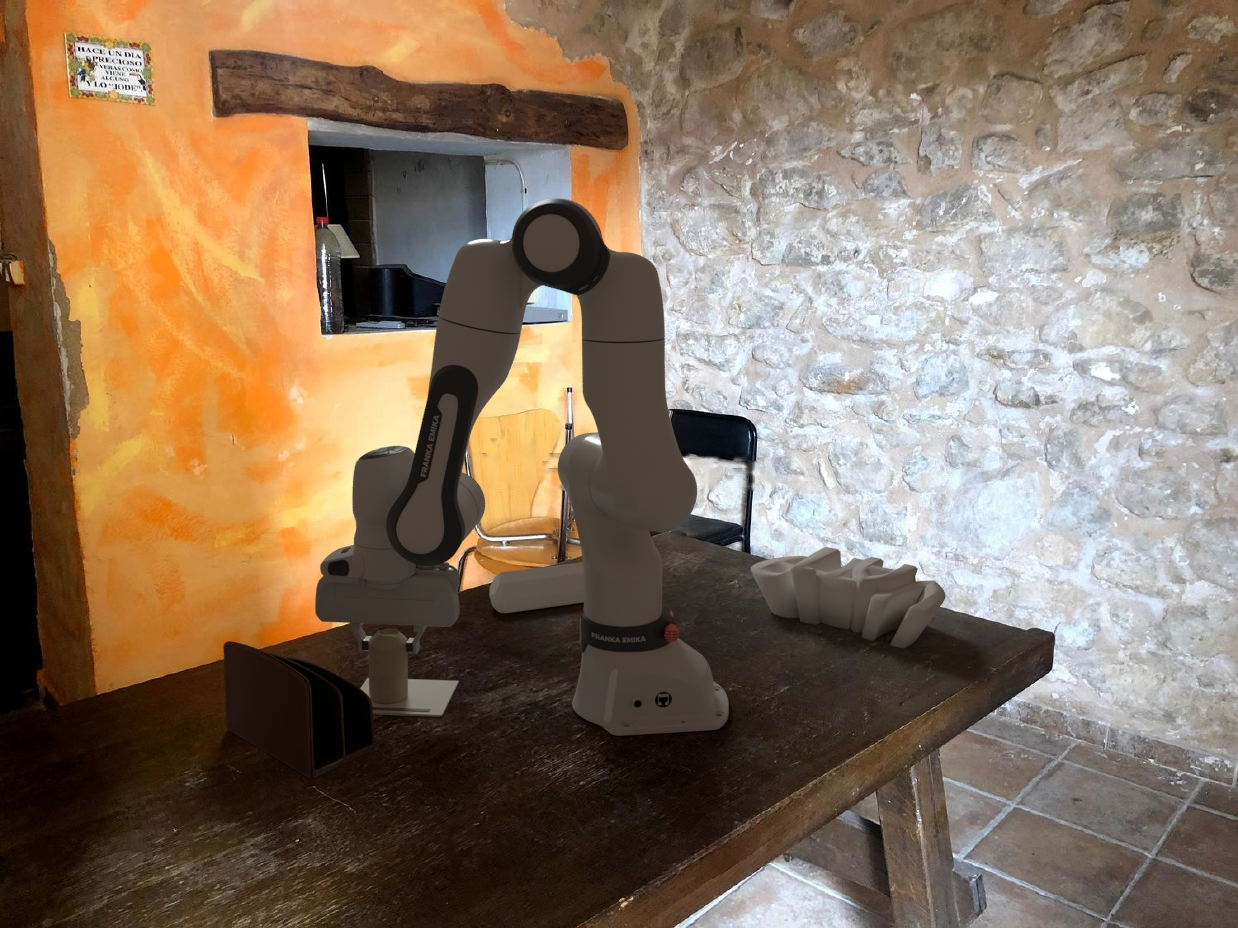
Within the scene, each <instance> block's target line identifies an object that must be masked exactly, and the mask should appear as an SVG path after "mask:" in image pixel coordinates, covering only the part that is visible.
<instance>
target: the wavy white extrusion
mask: <svg viewBox="0 0 1238 928" xmlns="http://www.w3.org/2000/svg"><path fill="white" fill-rule="evenodd" d="M841 557H842V555H841V551H840V549H838V548H834V547H828V546H824V547H822V548H820V549H817V551H814V552H812V553H811V554H810V555H807V556H806V555H792V556H791V555H789V556H788V555H787V556H781V557H780V556H779V557H776V558H775V557H774V558H768V559H766V560H762V561H759V562H756V563H755V564H753V565H751V566H750V572H751V574H752V577H753V578H754V580H755V582H756V585H757V586H758V589H759V590H760V592H761V594H762V596H763V598H764V600H765V602H766V604H767V606H768V607H769V610H770V612H771V613H773V615H775V616H778V617H781V618H787V619H799V621H800V622H801V623H804V624H810V625H819V624H821V623H822V624H824V625H825V624H826V625H828V626H832V627H835V628H839V629H843V630H851V631H852V632H853V633H861V638H863V639H865V640H869V641H875V640H876V639H878V637H880V636H882V635H884V634H887V633H889V632H891V631H894V630H896V633H895V634H894V636H893V638H892V640H891V642H890V644H889V645H890V646H892V647H896V648H899V649H900V648H901V649H906V648H907V647H909V646H911V645H913V644H914V643H915V642H916V641H917V640H918V639H919V637H920V636H921V635H922V633H923V631H924V630H925V629H926V627H927V626H928V624H929V623H930V621H931V620H932V619H933V617H934V616H935V614H937V612H938V611H939V609H940V607H941V606H942V605H943V604H944V602H945V600H946V592H945V590H944V588H943V587H942V586H941V585H940V584H939V583H938V582H937V581H936V580H934V579H933V580H916V575H917V572H918V570H919V568H918V567H917V566H915V565H911V564H906V563H904V564H903V565H902V566H900V567H897V568H895V569H893V568H889V567H883V566H884V560H883V559H882V558H879V557H874V556H869V557H867V558H865V559H861V558H856V557H853V558H852V559H851V560H850V561H849V562H848V563H846V564H844V565H842V558H841Z"/></svg>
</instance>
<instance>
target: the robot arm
mask: <svg viewBox="0 0 1238 928" xmlns="http://www.w3.org/2000/svg"><path fill="white" fill-rule="evenodd" d="M511 233H512V234H511V237H510V238H509V239H506V240H498V239H492V238H478V239H473V240H471V241H468V242H466V243H464V244H463V245H462V246H461V247H460V248H459V249H458V251H457V252H456V254H455V257H454V259H453V262H452V265H451V268H450V271H449V273H448V276H447V279H446V283H445V285H444V290H443V294H442V298H441V302H440V306H439V307H440V308H439V313H438V317H437V321H436V322H437V323H436V329H435V335H434V336H435V337H434V342H433V343H434V344H433V345H434V346H433V352H432V353H433V354H432V362H431V369H430V370H431V371H430V376H429V377H430V378H429V383H428V390H427V391H428V392H427V399H426V402H425V407H424V411H423V414H422V415H423V416H422V418H421V419H422V420H421V424H420V428H419V433H418V437H417V441H416V446H415V451H413V449H411V448H410V447H408V446H404V445H403V446H401V445H392V446H391V445H390V446H385V447H379V448H376V449H372V450H370V451H367V452H365V453H364V454H363V455H361V456H360V457H359V458H358V459H357V460H356V462H355V465H354V470H353V475H352V477H353V478H352V489H351V490H352V497H351V498H352V499H351V500H352V514H353V517H354V521H355V531H354V536H353V544H351V545H346V546H344V547H338V548H337V549H335V550H334V551H332V552H331V553H329V554H328V555H327V556H326V557H325V558H324V559H323V560H322V562H321V563H320V567H319V568H320V574H321V575H322V577H320V578H319V579H318V582H317V584H316V588H315V601H314V606H315V607H314V608H315V609H314V610H315V615H316V617H317V618H318V619H319V621H321V622H323V623H346V624H349V630H350V632H351V633H352V635H353V636H354V638H355V639H356V640H357V641H358V643H357V644H358V645H357V646H358V651H359V652H369V647H368V642H369V640H370V639H371V638H372V637H373V635H372V636H371V635H370V636H369V635H367V634H366V632H365V631H364V629H363V626H364V624H370V625H371V624H372V625H393V626H413V632H414V633H416V635H415V636H414V637H409V638H407V639H408V641H407V642H406V647H407V650H406V652H407V653H408V654H416V655H417V654H418V653H419V651H420V639H421V638H422V636H423V634H424V632H425V631H426V629H427V627H439V628H450V627H452V626H453V625H454V624H455V623H456V621H457V620H458V619H459V616H460V601H459V593H458V590H459V588H460V583H461V579H460V572H459V570H458V569H457V568H456V567H455V566H454V565H451V564H450V562H448V561H450V559H452V558H453V557H454V556H455V554H456V553H457V552H458V550H459V549H460V546H461V545H462V543H463V542H464V541H465V539H466V538H467V537H469V535H471V533H472V531H473V530H474V529H475V528H476V527H477V525H478V524H479V523H480V521H481V520H482V519H483V516H484V513H485V511H486V510H485V508H486V500H485V495H484V492H483V489H482V488H481V486H480V484H479V483H478V482H477V481H476V480H475V479H474V478H473V477H472V476H471V475H469V474H466V473H465V472H463V468H464V464H465V459H466V455H467V450H468V447H469V442H470V439H471V434H472V431H473V428H474V426H475V423H476V421H477V419H478V417H479V416H480V415H481V412H482V411H483V410H484V408H485V406H486V405H487V404H488V402H489V401H490V400H491V399H492V398H493V396H494V395H495V394H496V393H497V392H498V391H499V389H500V388H501V387H502V386H503V385H504V383H505V382H506V381H507V378H508V376H509V374H510V371H511V369H512V366H513V364H514V360H515V357H516V354H517V351H518V347H519V344H520V340H521V334H522V333H521V332H522V328H523V323H524V317H525V313H526V309H527V306H528V302H529V300H530V298H531V295H533V293H534V291H536V290H537V289H538V288H540V287H542V286H544V287H547V288H551V289H555V290H558V291H562V292H565V293H566V294H567V293H568V294H571V295H574V296H576V297H577V299H578V302H579V305H580V306H579V308H580V314H581V315H580V316H581V369H582V371H581V375H582V376H581V379H582V381H581V382H582V385H581V387H582V396H583V400H584V402H585V404H586V406H587V408H588V409H589V411H590V413H591V414H592V416H593V417H592V418H593V420H594V422H595V426H596V429H597V432H587V433H585V432H584V433H582V434H578V435H576V436H574V437H572V438H571V439H570V440H568V442H567V443H566V444H565V446H564V447H563V448H562V450H561V452H560V454H559V456H558V461H557V475H558V479H559V481H560V483H561V485H562V486H563V489H564V490H565V492H566V494H567V497H568V500H569V502H570V505H571V511H572V514H573V519H574V523H575V527H576V531H577V536H578V540H579V541H578V542H579V545H580V549H581V550H580V551H581V555H582V562H583V576H584V602H583V609H582V610H581V615H580V619H579V645H580V650H581V652H582V653H581V662H580V669H579V675H578V681H577V685H576V689H575V692H574V695H573V698H572V704H571V705H572V708H573V710H574V712H575V713H576V714H577V715H578V716H579V717H581V718H583V719H584V720H586V721H588V722H590V723H593V724H596V725H597V726H600V727H602V728H603V729H604V730H605V731H607V733H609V734H610V735H613V736H618V737H619V736H621V737H622V736H635V735H636V736H637V735H652V734H669V733H670V734H671V733H686V732H702V731H704V732H705V731H715V730H719V729H720V728H722V727H723V726H724V725H725V724H726V723H727V721H728V719H729V715H730V706H729V698H728V695H727V693H726V690H724V688H723V687H722V686H721V685H720V684H718V683H717V682H716V681H714V678H713V674H712V670H711V668H710V665H709V662H708V661H707V660H706V658H705V656H704V655H703V654H702V653H700V652H698V651H697V650H696V649H694V648H693V647H691V646H690V645H688V644H687V643H686V642H684V641H683V640H682V639H680V638H679V636H680V629H679V627H678V626H677V621H676V618H675V616H674V613H673V611H672V610H671V609H670V611H669V612H667V611H665V610H664V609H662V607H663V561H662V557H661V554H660V552H659V550H658V548H657V546H656V545H655V543H654V540H653V538H652V536H651V532H659V533H660V532H669V531H673V530H676V529H677V528H678V527H680V526H681V525H682V524H684V523H685V522H686V521H687V520H688V518H690V516H691V514H692V513H693V511H694V508H695V506H696V502H697V500H698V499H697V498H698V484H697V480H696V477H695V475H694V473H693V471H692V470H691V469H690V467H689V465H688V464H687V463H686V460H685V459H684V457H683V455H682V453H681V450H680V447H679V444H678V441H677V439H676V435H675V432H674V431H675V430H674V428H673V425H672V424H673V423H672V420H671V417H670V416H671V415H670V412H669V408H668V406H669V405H668V400H667V393H666V358H665V357H666V344H665V343H666V340H665V337H666V329H665V328H666V327H665V324H666V323H665V310H664V302H663V301H664V300H663V293H662V287H661V283H660V277H659V273H658V270H657V267H656V266H655V265H654V264H653V262H652V261H650V260H649V259H648V258H646V257H645V256H643V255H640V254H637V253H634V252H629V251H628V252H627V251H616V250H613V249H611V248H609V247H608V246H607V245H606V243H605V240H604V238H603V234H602V230H601V228H600V225H599V224H598V222H597V221H596V218H595V217H594V216H593V215H592V213H591V212H590V211H589V210H588V209H587V208H586V207H584V206H583V205H582V204H580V203H579V202H576V201H573V200H571V199H566V198H560V197H559V198H547V199H546V198H545V199H542V200H539V201H536V202H534V203H532V204H531V205H530V206H528V207H527V208H525V209H524V210H523V211H522V213H521V214H520V215H519V217H518V218H517V220H516V221H515V224H514V226H513V229H512V232H511Z"/></svg>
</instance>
